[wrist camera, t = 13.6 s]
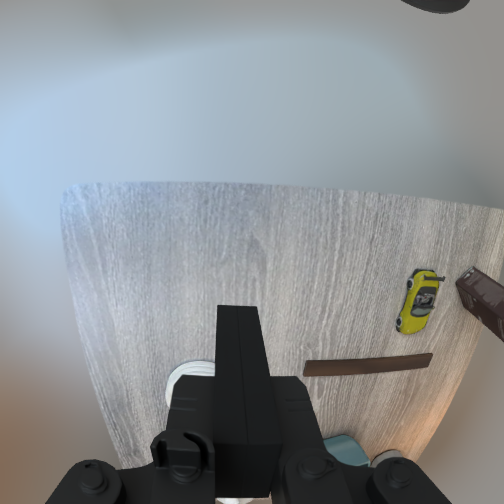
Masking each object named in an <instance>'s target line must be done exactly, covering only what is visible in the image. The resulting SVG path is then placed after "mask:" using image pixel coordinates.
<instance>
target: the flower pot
mask: <svg viewBox="0 0 504 504" xmlns="http://www.w3.org/2000/svg"><path fill="white" fill-rule="evenodd" d="M323 441H324V444H325V447H326V449H327V451H328V452H329V453H330V454H332V455H333V456H334V457H336V459H337V460H338V461H340V462H342V463H345V464H348V465H353V466H363V467H370V464H371V462H370V460H369V458H368V457H367V455H366V454H365V452H364V450H363V449H362V447H361V446H360V445H359V443H358V442H357V441H356V440H354V439H353V438H351V437H349V436H347V435H340V436H336V437H333V438H329V439H326V440H323Z"/></svg>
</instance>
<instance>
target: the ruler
mask: <svg viewBox="0 0 504 504" xmlns="http://www.w3.org/2000/svg"><path fill="white" fill-rule="evenodd" d="M432 356H433V354H432V353H428V354H418V355H408V356H396V357H383V358H367V359H347V360H308V361H306V364H305V368H304V373H303V376H304V377H308V376H336V375H354V374H368V373H380V372H391V371H400V370H409V369H418V368H425V367H428V366H429V363H430V361H431V359H432Z"/></svg>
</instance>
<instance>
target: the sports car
mask: <svg viewBox="0 0 504 504" xmlns="http://www.w3.org/2000/svg"><path fill="white" fill-rule="evenodd" d="M412 277H414V279H409V280H408V281H407V287H408V294H407V297H406V300H405V304H404V307H403V310H402V311H401V313H400V316H401V317H398V318H397V320H396V329H397V331H398V332H402V333H403V334H413V333H414V334H415V333H416V332H418V331H420V330H421V329H423V328H424V327H425V325H426V323H427V319H428V317H429V314H430V311H431V310H433V309H434V308H435V306H434V307H433V304H434V301H435V297H436V294H437V291H438V288H439V281H443V282H444V280H445V277H444V276H443V278H441V277H437V274H435V273H434V271H433V270H432V271H431V270H419V269H417V270H415V272H414V274H413V276H412ZM400 324H401V325H400Z"/></svg>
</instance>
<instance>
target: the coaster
mask: <svg viewBox="0 0 504 504" xmlns="http://www.w3.org/2000/svg"><path fill="white" fill-rule="evenodd" d="M182 374H185V375H201V376H215V363H212V362H207V361H193V362H188V363H185V364H182V365H180V366H179V367H177V368H176V369H175V370H174V371H173V372H172V373H171V375H170V377H169V379H168V384H167V389H166V393H165V397H166V402H167V405H168V407H169V408H170V403H171V399H172V391H173V386H174V384H175V383H176V381H177V380H178V379H179V378H180V377H181V375H182Z"/></svg>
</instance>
